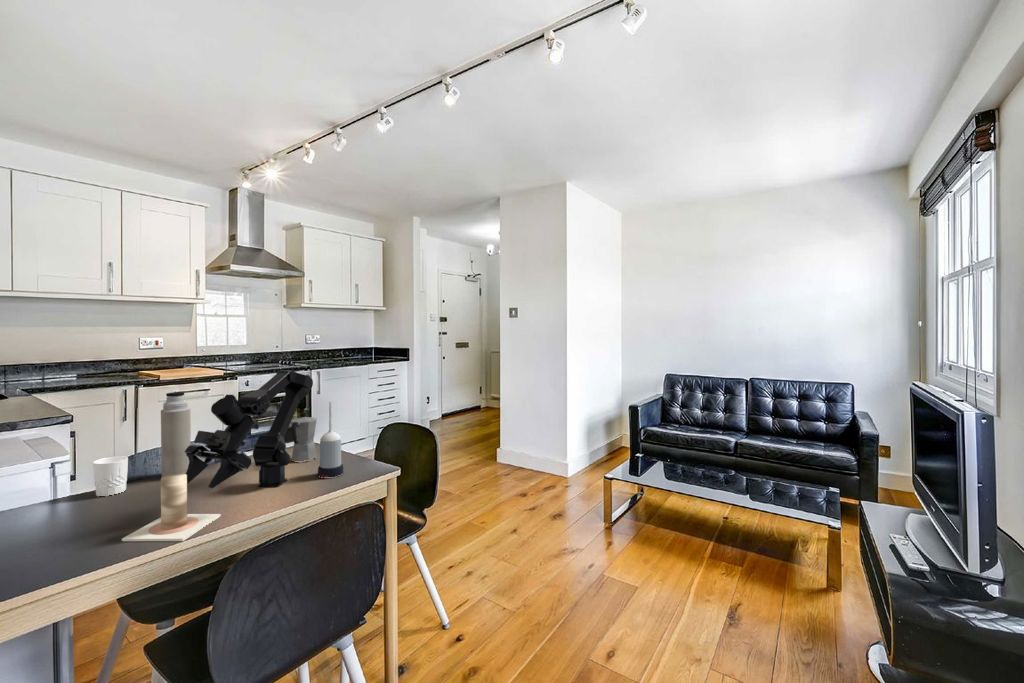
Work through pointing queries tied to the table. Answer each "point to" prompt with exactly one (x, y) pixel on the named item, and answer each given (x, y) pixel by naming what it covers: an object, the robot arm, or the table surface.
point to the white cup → (110, 475)
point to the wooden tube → (173, 501)
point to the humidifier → (330, 452)
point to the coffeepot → (303, 438)
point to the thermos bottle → (175, 434)
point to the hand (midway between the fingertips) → (197, 485)
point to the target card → (179, 534)
